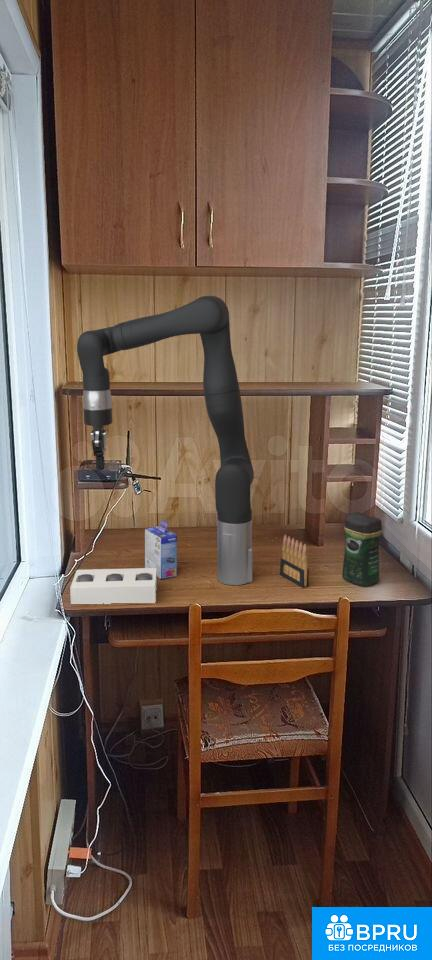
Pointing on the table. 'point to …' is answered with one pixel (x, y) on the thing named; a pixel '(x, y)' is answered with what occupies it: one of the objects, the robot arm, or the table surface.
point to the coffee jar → (361, 549)
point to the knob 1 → (85, 578)
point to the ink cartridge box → (161, 551)
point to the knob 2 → (144, 576)
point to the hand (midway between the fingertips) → (100, 469)
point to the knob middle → (115, 577)
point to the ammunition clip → (294, 562)
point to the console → (114, 587)
